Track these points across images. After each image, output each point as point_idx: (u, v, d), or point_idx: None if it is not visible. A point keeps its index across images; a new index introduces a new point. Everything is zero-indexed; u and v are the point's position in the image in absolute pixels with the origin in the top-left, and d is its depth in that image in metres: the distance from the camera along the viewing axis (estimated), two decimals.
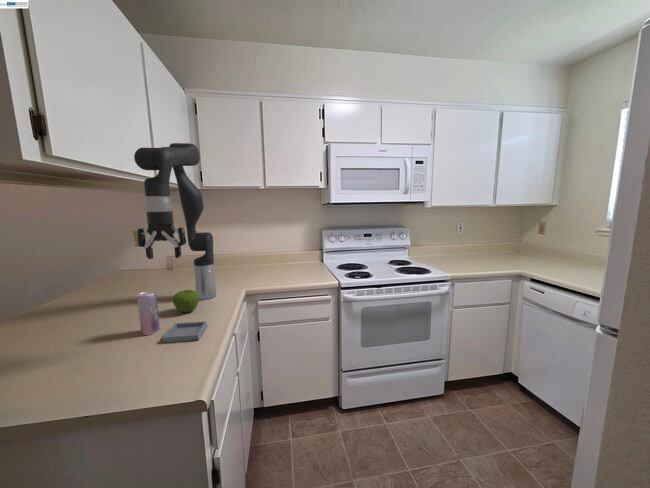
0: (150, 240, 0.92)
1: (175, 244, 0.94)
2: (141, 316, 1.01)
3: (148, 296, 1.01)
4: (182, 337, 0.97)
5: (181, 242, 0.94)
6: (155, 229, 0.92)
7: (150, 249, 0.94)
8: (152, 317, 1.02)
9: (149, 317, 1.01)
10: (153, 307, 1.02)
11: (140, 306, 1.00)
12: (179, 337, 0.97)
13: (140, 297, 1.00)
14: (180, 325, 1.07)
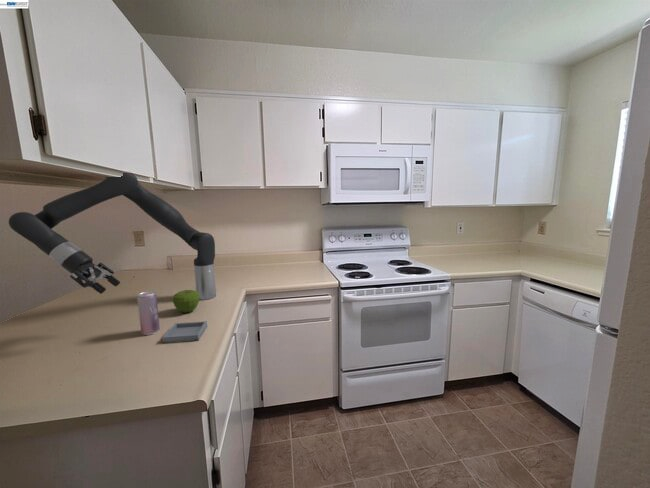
0: None
1: None
2: (141, 316, 1.01)
3: (148, 296, 1.01)
4: (182, 337, 0.97)
5: None
6: None
7: (109, 279, 1.04)
8: (152, 317, 1.02)
9: (149, 317, 1.01)
10: (153, 307, 1.02)
11: (140, 306, 1.00)
12: (179, 337, 0.97)
13: (140, 297, 1.00)
14: (180, 325, 1.07)
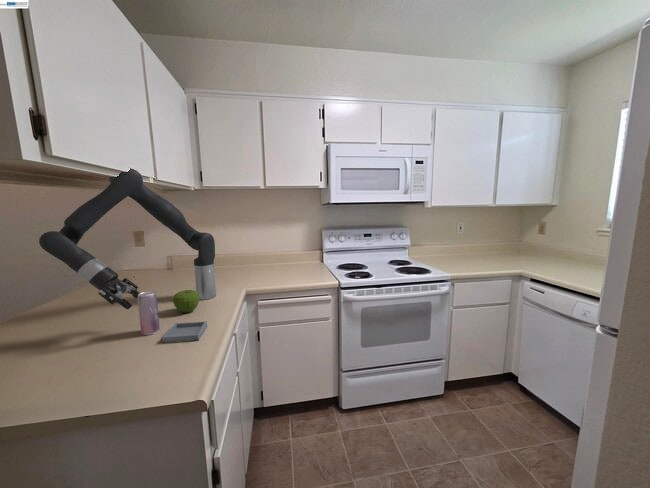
0: None
1: None
2: (141, 316, 1.01)
3: (148, 296, 1.01)
4: (182, 337, 0.97)
5: None
6: None
7: (134, 294, 1.06)
8: (152, 317, 1.02)
9: (149, 317, 1.01)
10: (153, 307, 1.02)
11: (140, 306, 1.00)
12: (179, 337, 0.97)
13: (140, 297, 1.00)
14: (180, 325, 1.07)
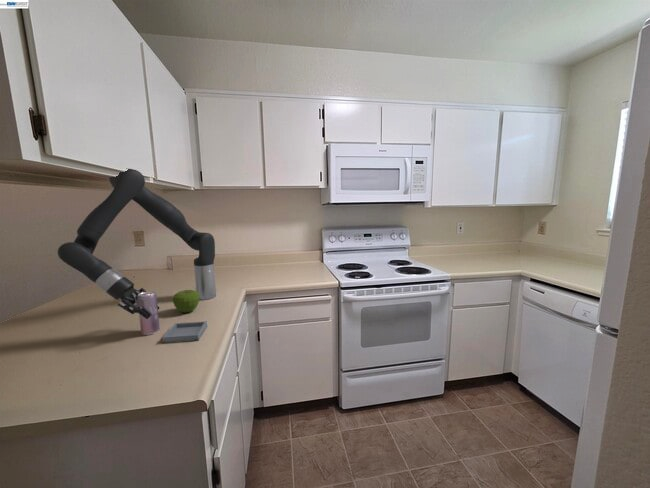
0: None
1: None
2: (141, 316, 1.01)
3: (148, 296, 1.01)
4: (182, 337, 0.97)
5: None
6: None
7: None
8: (152, 317, 1.02)
9: (149, 317, 1.01)
10: (153, 307, 1.02)
11: None
12: (179, 337, 0.97)
13: (140, 297, 1.00)
14: (180, 325, 1.07)
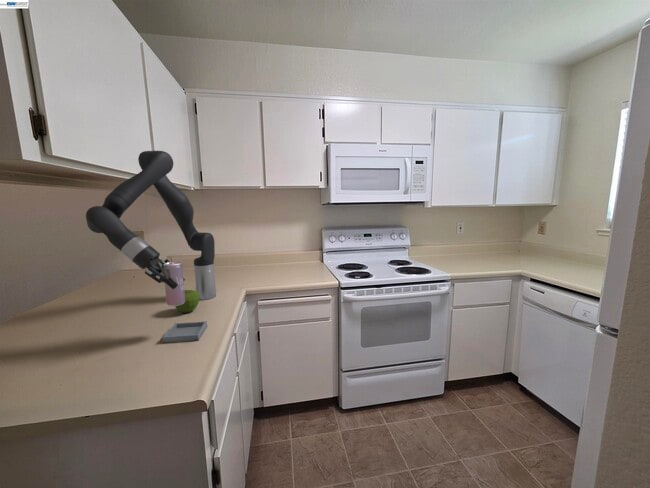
0: None
1: None
2: (167, 286, 0.98)
3: (174, 265, 0.97)
4: (182, 337, 0.97)
5: None
6: None
7: None
8: (178, 287, 0.99)
9: (175, 288, 0.98)
10: (180, 277, 0.99)
11: None
12: (179, 337, 0.97)
13: (166, 266, 0.97)
14: (180, 325, 1.07)
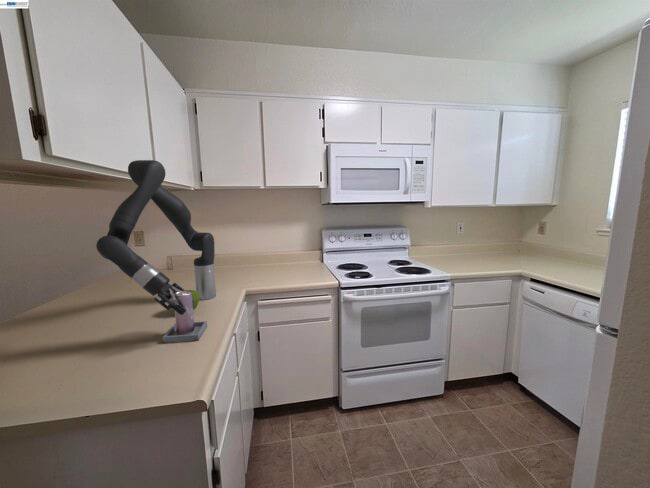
0: None
1: None
2: (177, 316, 0.99)
3: (185, 296, 0.99)
4: (182, 337, 0.97)
5: None
6: None
7: None
8: (189, 317, 1.00)
9: (185, 317, 1.00)
10: (190, 307, 1.01)
11: None
12: (179, 337, 0.97)
13: (177, 297, 0.98)
14: None
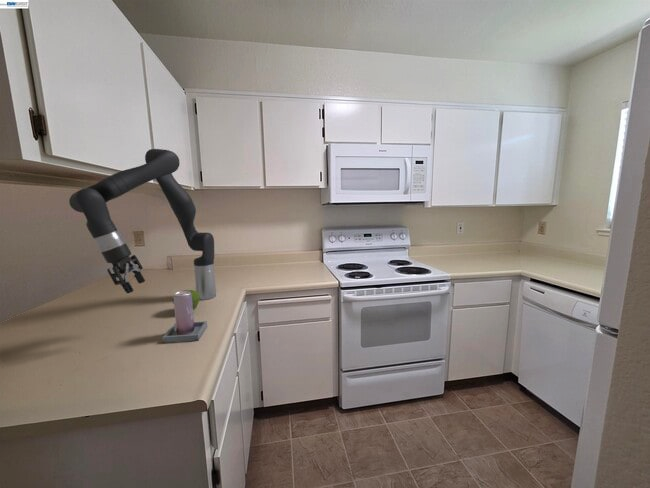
0: None
1: None
2: (177, 316, 0.99)
3: (185, 296, 0.99)
4: (182, 337, 0.97)
5: None
6: None
7: (136, 275, 1.03)
8: (189, 317, 1.00)
9: (185, 317, 1.00)
10: (190, 307, 1.01)
11: (177, 306, 0.99)
12: (179, 337, 0.97)
13: (177, 297, 0.98)
14: None
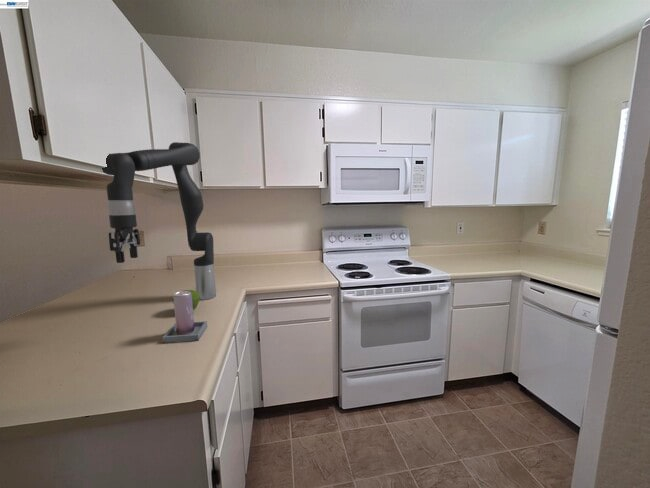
0: None
1: None
2: (177, 316, 0.99)
3: (185, 296, 0.99)
4: (182, 337, 0.97)
5: None
6: None
7: (131, 249, 1.02)
8: (189, 317, 1.00)
9: (185, 317, 1.00)
10: (190, 307, 1.01)
11: (177, 306, 0.99)
12: (179, 337, 0.97)
13: (177, 297, 0.98)
14: None
